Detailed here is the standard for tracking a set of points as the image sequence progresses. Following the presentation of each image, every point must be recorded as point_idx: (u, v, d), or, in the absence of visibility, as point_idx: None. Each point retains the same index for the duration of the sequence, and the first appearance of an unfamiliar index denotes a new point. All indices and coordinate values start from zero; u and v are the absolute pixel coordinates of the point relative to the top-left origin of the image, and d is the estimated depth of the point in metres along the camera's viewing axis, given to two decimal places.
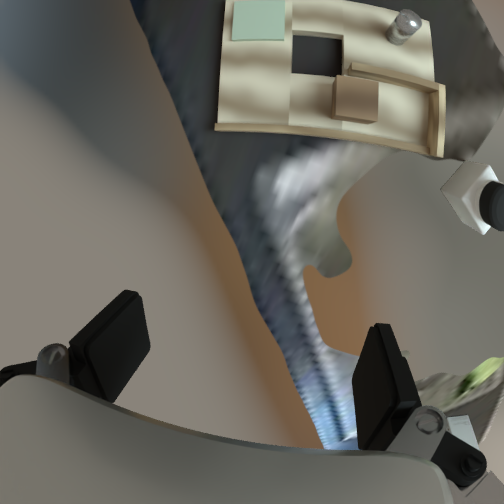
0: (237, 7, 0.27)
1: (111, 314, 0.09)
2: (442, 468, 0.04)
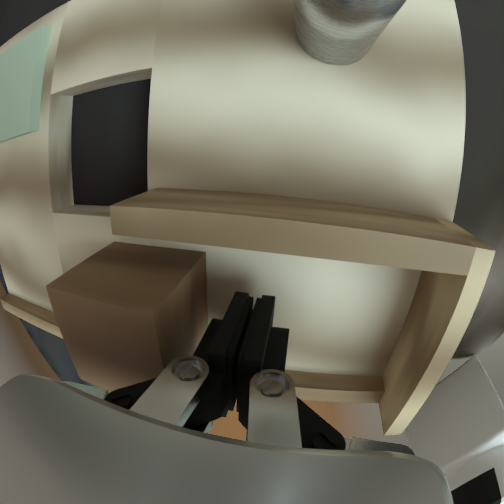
0: None
1: (238, 317, 0.09)
2: None
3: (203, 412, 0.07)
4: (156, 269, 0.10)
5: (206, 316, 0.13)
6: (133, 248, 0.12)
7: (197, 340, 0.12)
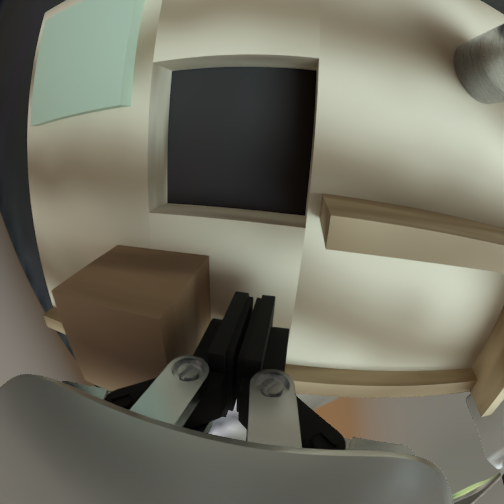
0: (46, 33, 0.08)
1: (238, 317, 0.09)
2: None
3: (203, 412, 0.07)
4: (161, 273, 0.11)
5: (209, 318, 0.14)
6: (137, 252, 0.12)
7: None
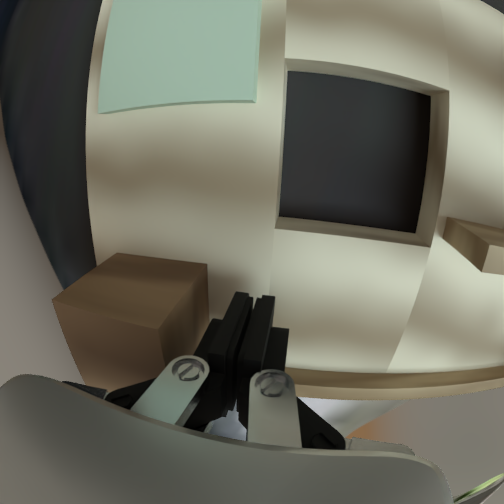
0: (119, 3, 0.08)
1: (238, 317, 0.09)
2: None
3: (203, 412, 0.07)
4: (159, 282, 0.11)
5: None
6: (136, 260, 0.13)
7: None
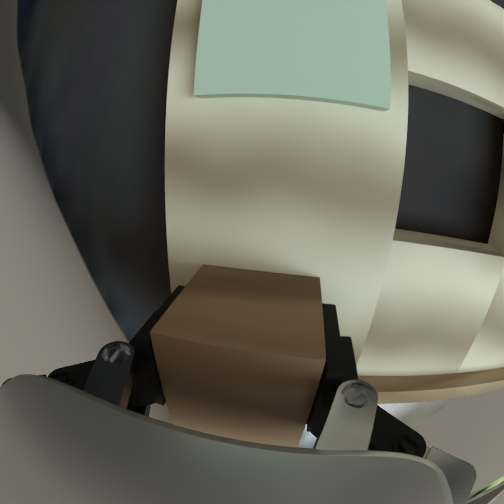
0: None
1: None
2: None
3: (139, 392, 0.08)
4: (285, 301, 0.10)
5: None
6: (235, 274, 0.11)
7: None
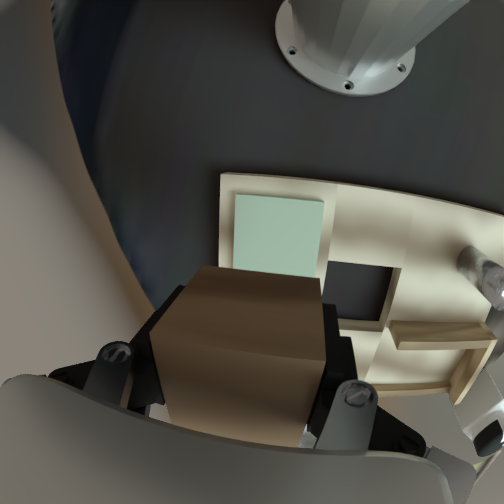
0: (240, 209, 0.22)
1: None
2: None
3: (139, 392, 0.08)
4: (285, 302, 0.10)
5: None
6: (235, 274, 0.11)
7: None
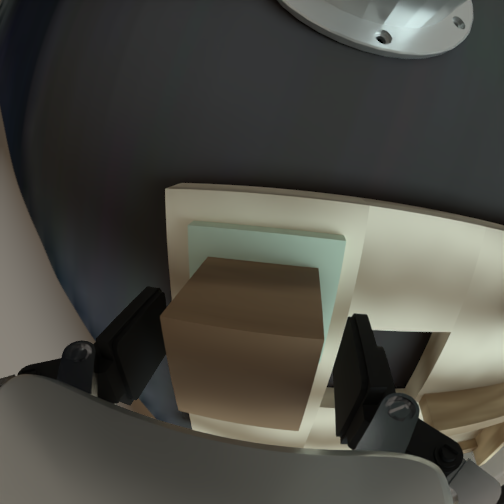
0: (197, 250, 0.13)
1: (137, 310, 0.09)
2: None
3: None
4: (286, 289, 0.10)
5: None
6: (238, 265, 0.12)
7: None
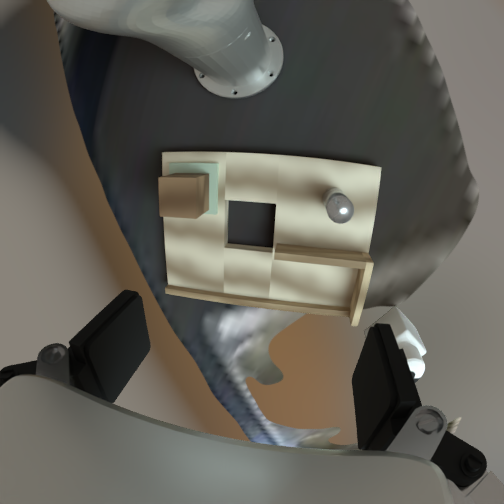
0: (172, 171, 0.37)
1: (111, 314, 0.09)
2: (442, 468, 0.04)
3: (80, 389, 0.07)
4: (194, 175, 0.34)
5: (208, 197, 0.37)
6: (184, 173, 0.36)
7: (205, 202, 0.36)
